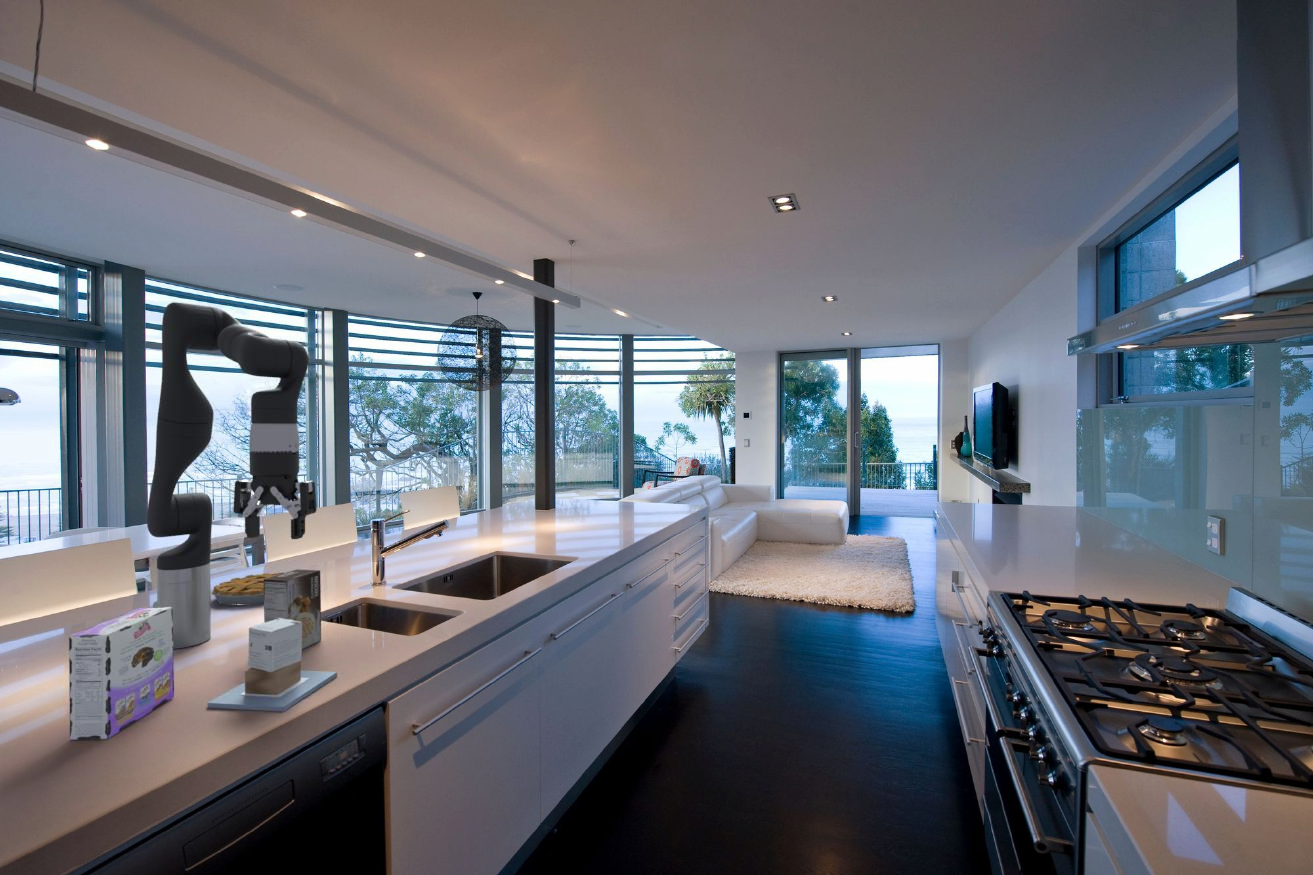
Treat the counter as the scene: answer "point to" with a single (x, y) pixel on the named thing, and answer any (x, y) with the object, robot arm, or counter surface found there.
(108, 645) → the candy box
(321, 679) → the board
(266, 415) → the robot arm
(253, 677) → the walnut block
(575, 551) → the counter surface
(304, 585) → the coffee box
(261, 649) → the skincare box
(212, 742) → the counter surface
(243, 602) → the pie
